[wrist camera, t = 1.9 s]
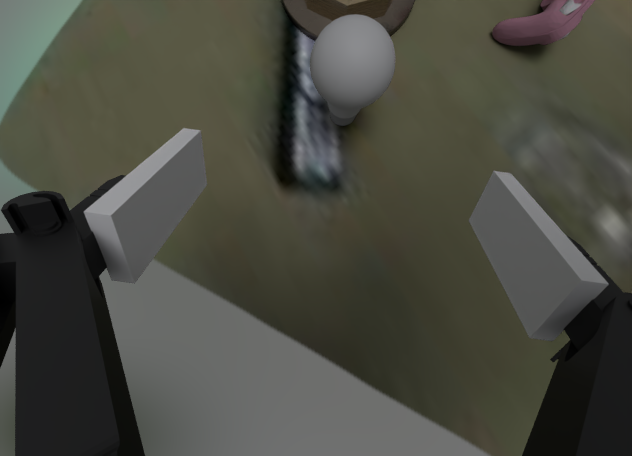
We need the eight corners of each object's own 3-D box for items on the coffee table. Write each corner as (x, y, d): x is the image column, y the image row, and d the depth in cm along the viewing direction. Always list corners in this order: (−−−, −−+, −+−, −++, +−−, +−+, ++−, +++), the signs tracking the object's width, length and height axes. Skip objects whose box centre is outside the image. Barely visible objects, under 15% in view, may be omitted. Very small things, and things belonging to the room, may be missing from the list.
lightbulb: (300, 101, 31) (294, 10, 20) (357, 79, 31) (382, -23, 20) (325, 156, 30) (332, 92, 19) (383, 133, 31) (422, 57, 20)
